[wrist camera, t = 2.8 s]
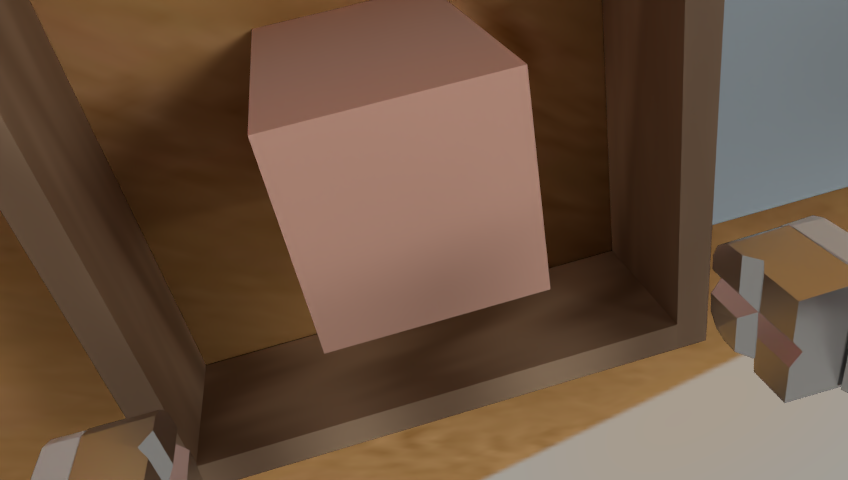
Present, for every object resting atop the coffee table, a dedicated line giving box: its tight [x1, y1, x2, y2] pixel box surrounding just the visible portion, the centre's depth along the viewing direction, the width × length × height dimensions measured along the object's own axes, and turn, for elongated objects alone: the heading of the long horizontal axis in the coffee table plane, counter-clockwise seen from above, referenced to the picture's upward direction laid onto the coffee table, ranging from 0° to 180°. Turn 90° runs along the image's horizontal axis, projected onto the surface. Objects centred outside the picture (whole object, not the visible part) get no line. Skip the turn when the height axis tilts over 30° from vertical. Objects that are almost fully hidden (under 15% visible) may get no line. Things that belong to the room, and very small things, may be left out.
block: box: [248, 0, 550, 354], centre depth 16 cm, size 5×5×8 cm
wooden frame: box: [0, 0, 725, 480], centre depth 18 cm, size 17×18×4 cm
